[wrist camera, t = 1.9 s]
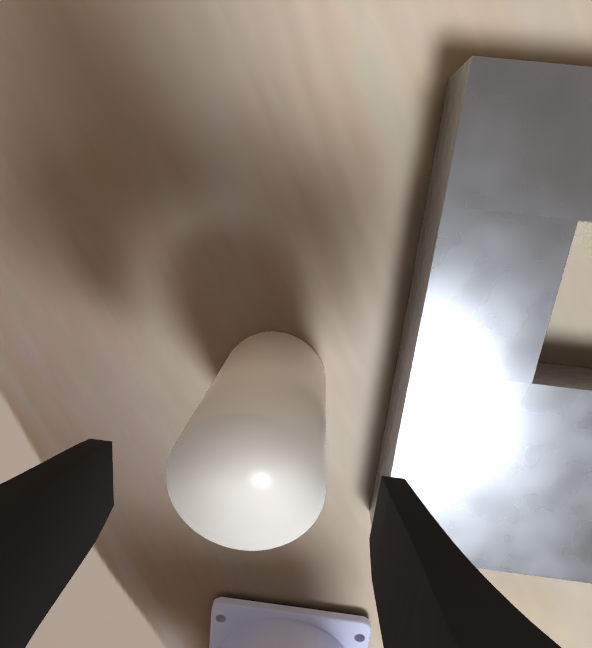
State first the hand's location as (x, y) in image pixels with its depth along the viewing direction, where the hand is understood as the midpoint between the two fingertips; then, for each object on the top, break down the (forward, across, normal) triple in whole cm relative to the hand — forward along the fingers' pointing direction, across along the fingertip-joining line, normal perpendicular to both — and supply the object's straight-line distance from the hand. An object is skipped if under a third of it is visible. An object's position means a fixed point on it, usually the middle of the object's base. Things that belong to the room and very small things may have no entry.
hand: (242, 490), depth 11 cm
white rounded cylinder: (+7, 0, 0) cm, 7 cm away
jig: (+7, -12, -3) cm, 14 cm away
